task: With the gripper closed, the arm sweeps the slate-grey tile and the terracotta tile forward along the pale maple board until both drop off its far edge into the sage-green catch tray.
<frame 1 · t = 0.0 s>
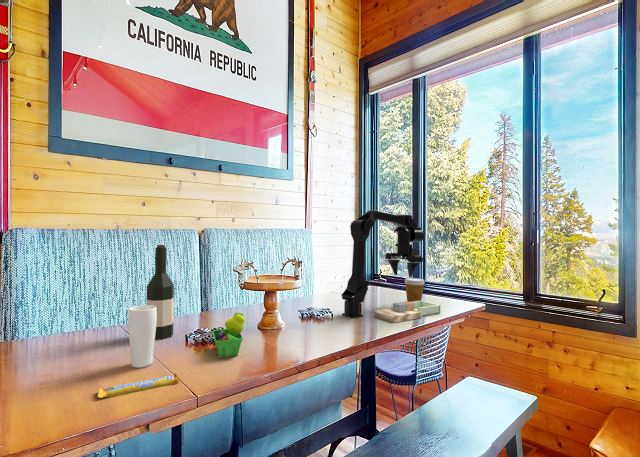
hand: (403, 276, 169), 15 cm above the table, tool pointing down, fingers open, 9 cm apart
board: (397, 317, 153), on the table
tray: (419, 312, 162), on the table
terracotta tile: (407, 309, 156), point 2 cm above the table, touching board
disposable coffee cup: (414, 304, 179), on the table
slate tile: (399, 310, 154), point 2 cm above the table, touching board
candy bar: (140, 390, 84), on the table
wine bottle: (159, 336, 122), on the table
drinking glass: (142, 365, 97), on the table
fruit basket: (228, 352, 109), on the table
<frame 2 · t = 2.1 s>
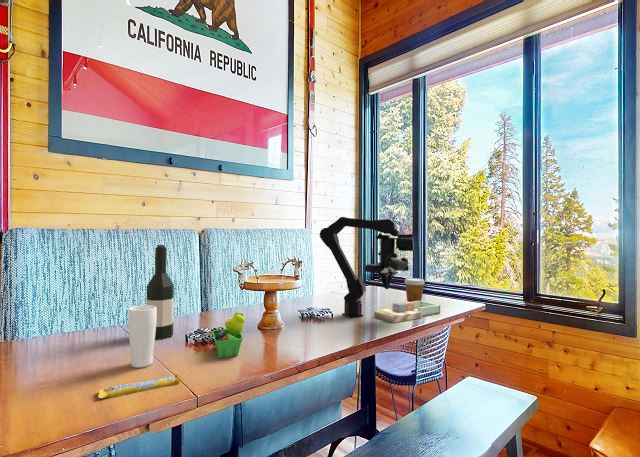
hand: (386, 289, 150), 12 cm above the table, tool pointing down, fingers closed
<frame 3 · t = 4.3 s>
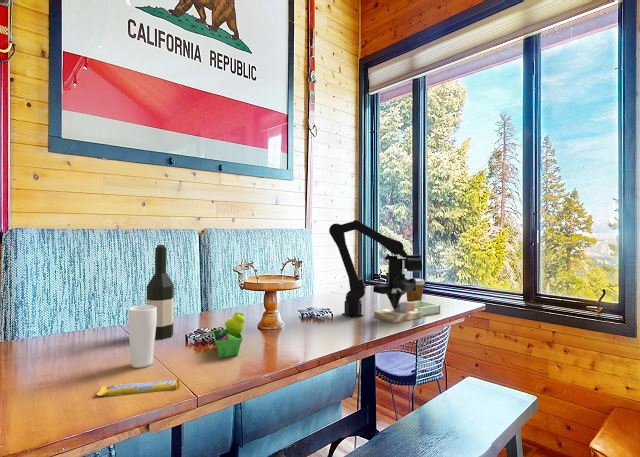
hand: (394, 308, 152), 4 cm above the table, tool pointing down, fingers closed
terracotta tile: (407, 309, 156), point 2 cm above the table, touching slate tile
slate tile: (400, 310, 154), point 2 cm above the table, touching gripper, terracotta tile
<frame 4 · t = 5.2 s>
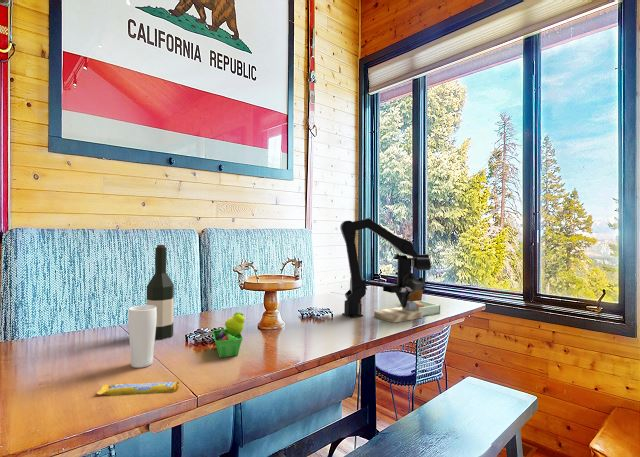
hand: (403, 307, 155), 4 cm above the table, tool pointing down, fingers closed
terracotta tile: (415, 308, 159), point 2 cm above the table, tilted 90°, touching tray
slate tile: (409, 309, 157), point 2 cm above the table, touching board, gripper
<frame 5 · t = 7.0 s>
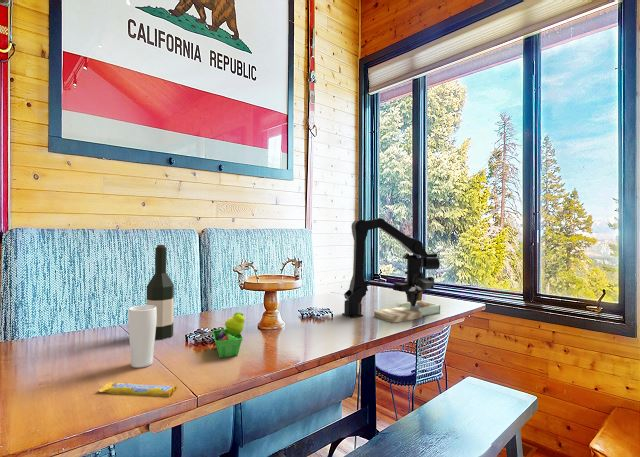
hand: (413, 306, 158), 4 cm above the table, tool pointing down, fingers closed
terracotta tile: (420, 307, 160), point 2 cm above the table, tilted 90°, touching tray
slate tile: (416, 312, 159), resting on tray
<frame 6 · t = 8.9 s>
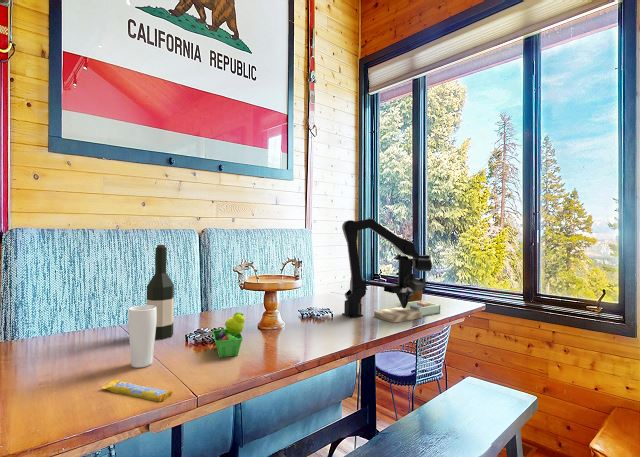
hand: (404, 308, 155), 3 cm above the table, tool pointing down, fingers closed
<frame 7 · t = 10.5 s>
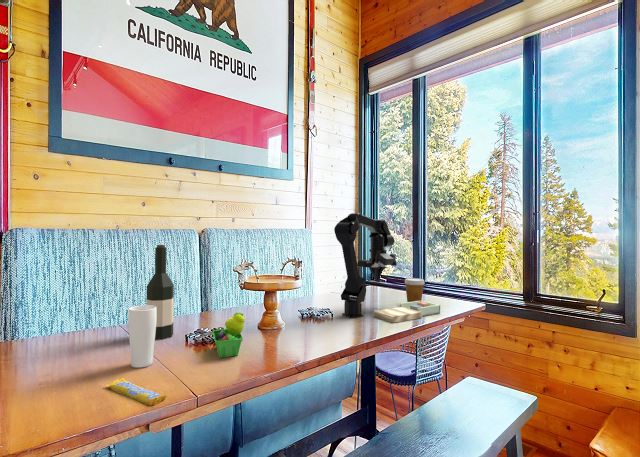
hand: (377, 281, 168), 12 cm above the table, tool pointing down, fingers closed
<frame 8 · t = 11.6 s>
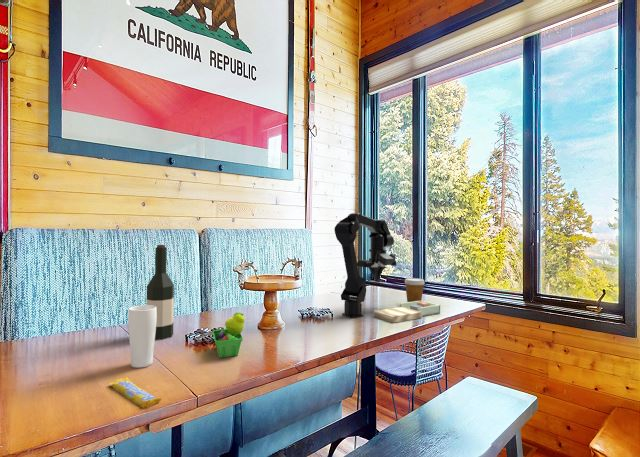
hand: (376, 281, 168), 12 cm above the table, tool pointing down, fingers closed
at the end: slate tile inside the target area on the tray (3.9 cm from its centre), point 0.4 cm above the tray's base; terracotta tile inside the target area on the tray (2.3 cm from its centre), point 2.4 cm above the tray's base; slate tile touching tray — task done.
